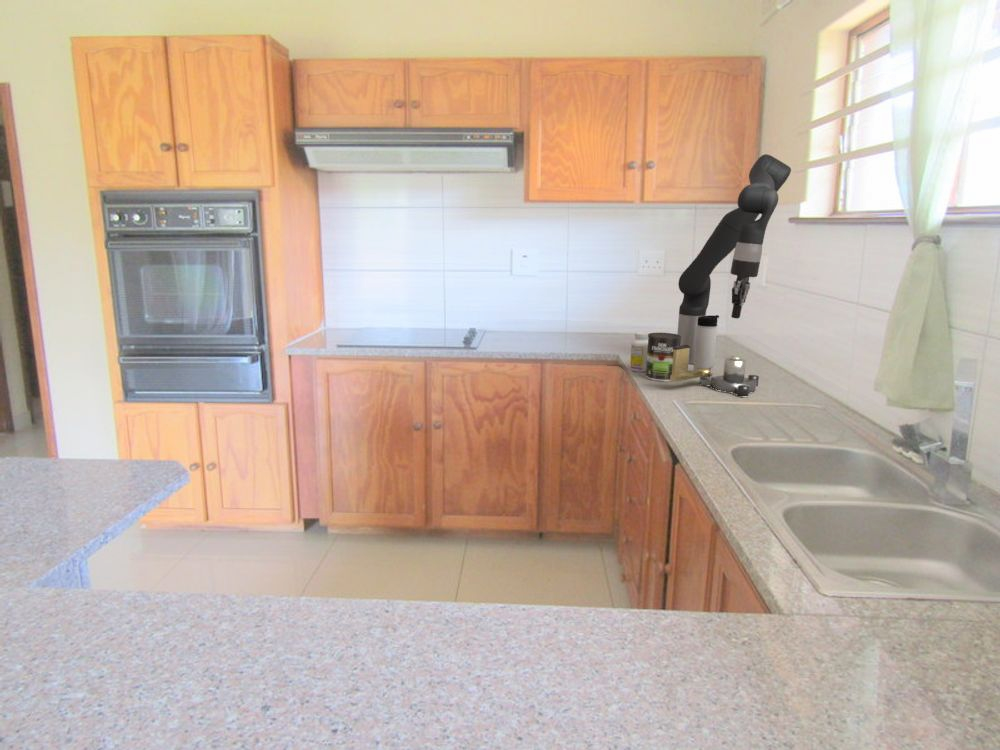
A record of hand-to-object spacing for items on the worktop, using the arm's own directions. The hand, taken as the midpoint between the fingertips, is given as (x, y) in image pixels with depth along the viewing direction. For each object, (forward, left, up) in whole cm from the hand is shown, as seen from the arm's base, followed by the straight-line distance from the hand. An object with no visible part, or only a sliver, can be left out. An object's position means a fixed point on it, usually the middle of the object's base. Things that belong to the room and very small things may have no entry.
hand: (735, 317), depth 196 cm
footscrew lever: (+5, -11, -19) cm, 22 cm away
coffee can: (-2, -21, -22) cm, 31 cm away
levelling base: (-1, -1, -22) cm, 22 cm away
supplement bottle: (-9, -31, -22) cm, 39 cm away
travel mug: (-14, -11, -22) cm, 28 cm away
